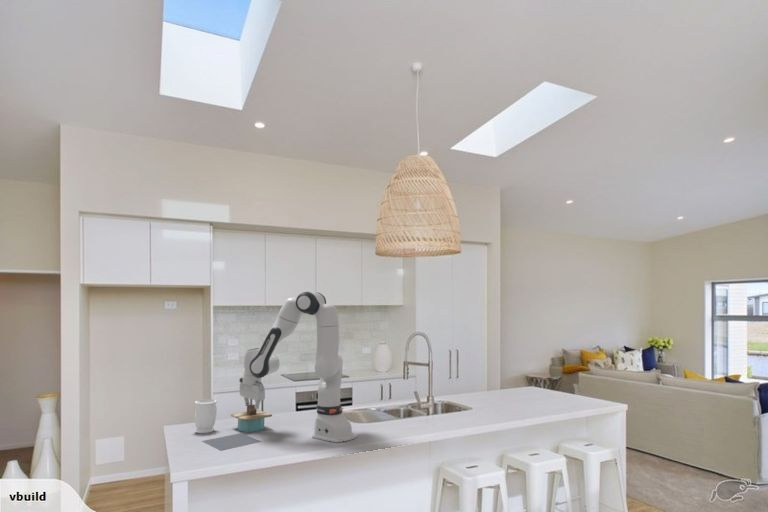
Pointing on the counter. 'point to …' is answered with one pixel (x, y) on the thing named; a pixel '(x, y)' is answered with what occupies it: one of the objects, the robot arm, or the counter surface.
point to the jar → (205, 415)
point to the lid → (251, 414)
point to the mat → (231, 441)
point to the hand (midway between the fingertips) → (251, 407)
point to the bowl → (251, 425)
